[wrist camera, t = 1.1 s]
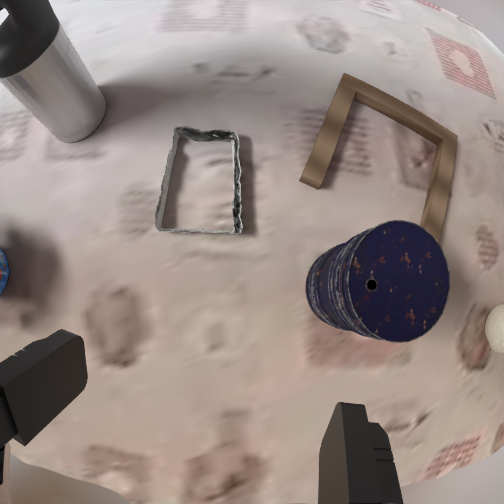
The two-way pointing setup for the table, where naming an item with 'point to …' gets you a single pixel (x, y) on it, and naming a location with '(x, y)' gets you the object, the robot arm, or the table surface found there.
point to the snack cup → (3, 270)
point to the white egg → (495, 328)
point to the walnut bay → (400, 113)
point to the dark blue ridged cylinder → (382, 283)
